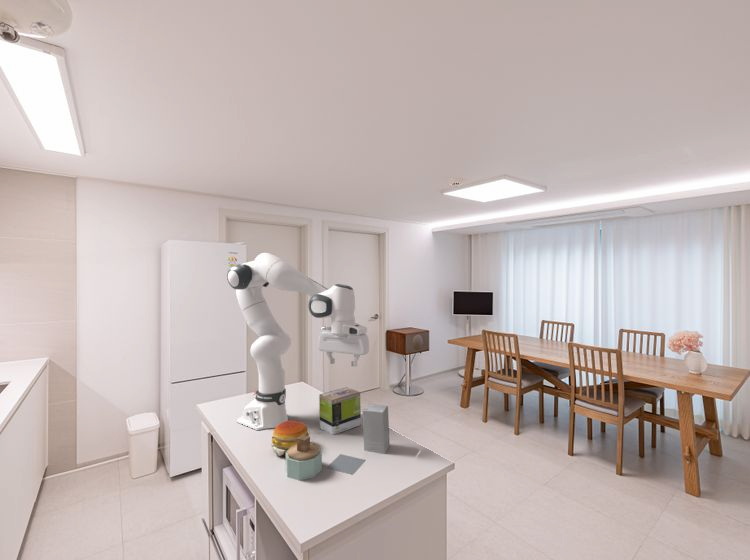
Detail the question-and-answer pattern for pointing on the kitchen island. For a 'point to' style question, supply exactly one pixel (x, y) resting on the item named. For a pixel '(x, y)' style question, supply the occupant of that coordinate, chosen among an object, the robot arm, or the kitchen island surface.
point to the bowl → (303, 467)
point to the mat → (346, 464)
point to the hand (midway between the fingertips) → (342, 364)
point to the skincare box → (376, 428)
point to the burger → (287, 435)
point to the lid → (303, 449)
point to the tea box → (339, 410)
